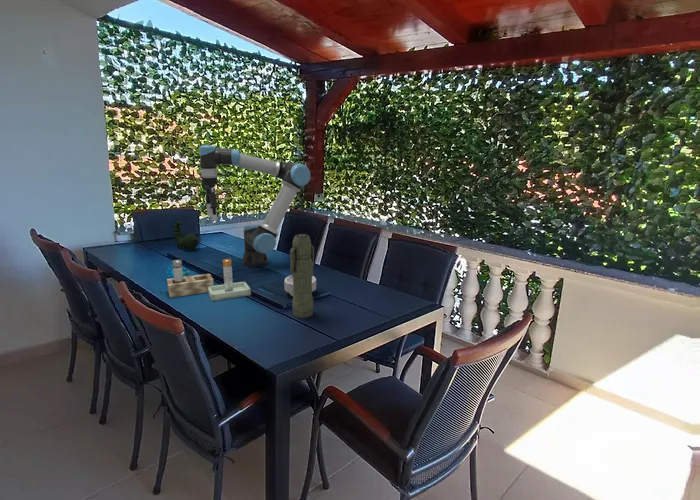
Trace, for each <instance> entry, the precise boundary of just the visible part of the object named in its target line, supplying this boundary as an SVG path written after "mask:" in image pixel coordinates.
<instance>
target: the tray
mask: <svg viewBox="0 0 700 500" xmlns="http://www.w3.org/2000/svg"><path fill="white" fill-rule="evenodd" d="M207 288H208V292H207V294H208V295H209V298H210V300H211V302H216V301H221V300H222V301H223V300H228V299H229V300H230V299H234V298H242V297H247V296H248V297H249V296H252V289H251V288H250V286H249V284H247V282H246V281H239V282H238V281H237V282H233V291H230V292H225V289H224V283H223V284H218V285H217V284H216V285H214V286H209V287H207Z"/></svg>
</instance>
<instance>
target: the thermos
mask: <svg viewBox="0 0 700 500" xmlns="http://www.w3.org/2000/svg"><path fill="white" fill-rule="evenodd" d="M314 267H315V247H314V245H313V244H312V240H311V238H310V235H308V234H307V233H297V234H295V235H294V237H293V239H292V247H291V248H290V250H289V268H290V273H291V275H292V277H293V296H292V297H293V298H292V301H291V303H292V304H291V305H292V306H291V307H292V315H293V316H294V317H295V318H298V319H307V318H310V317H312V316H313V315H314V298H313V292H312V276H314Z"/></svg>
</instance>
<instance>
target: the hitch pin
mask: <svg viewBox="0 0 700 500" xmlns="http://www.w3.org/2000/svg"><path fill="white" fill-rule="evenodd" d="M232 262H233V261H232V258H224V259H222V268H223V269H222V270H223V284H224V289H225V292H230V291H233V283H234V282H233V281H234V280H233V265H232V264H233V263H232Z"/></svg>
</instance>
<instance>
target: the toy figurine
mask: <svg viewBox="0 0 700 500" xmlns="http://www.w3.org/2000/svg"><path fill="white" fill-rule="evenodd" d="M180 225H181V226H182V225H183V223H182V221H180V220H178V221H176V222H175V224H174V225H172V227H173V228H174V229H172V231H173V232H175V233H173V236H175V238H174V241H176V242H177V243H176V246H177V247H179V249H180V250H186V249H189V251H190V252H195V251H196V250H197V247H198V246H199V245H200V242H199V241H200V240H199V238H198V236H197V235H196V234H195V233H189V234H186V235H184V236H183V235H182V234H183V233H182V232H181V231H182V230H181V228H180Z"/></svg>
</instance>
